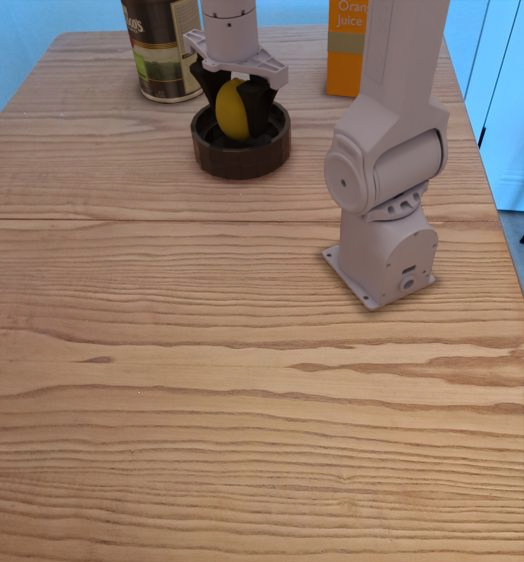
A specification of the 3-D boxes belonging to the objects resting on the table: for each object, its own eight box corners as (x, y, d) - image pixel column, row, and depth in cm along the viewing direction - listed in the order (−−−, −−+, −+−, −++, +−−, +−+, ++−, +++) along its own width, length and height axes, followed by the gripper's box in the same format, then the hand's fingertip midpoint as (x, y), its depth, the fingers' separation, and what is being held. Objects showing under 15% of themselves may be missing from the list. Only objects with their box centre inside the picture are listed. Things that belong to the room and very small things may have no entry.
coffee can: (153, 111, 81) (129, 3, 70) (132, 78, 87) (106, -26, 76) (220, 91, 83) (207, -17, 72) (195, 61, 89) (179, -44, 78)
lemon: (265, 128, 73) (261, 65, 67) (261, 153, 70) (256, 91, 64) (223, 128, 74) (215, 66, 68) (216, 153, 71) (207, 91, 64)
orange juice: (325, 94, 81) (329, -74, 65) (338, 63, 86) (346, -100, 70) (380, 100, 79) (399, -72, 63) (391, 68, 84) (410, -99, 68)
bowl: (308, 163, 72) (308, 130, 68) (220, 195, 69) (215, 163, 65) (263, 117, 78) (261, 85, 75) (181, 145, 76) (175, 113, 72)
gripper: (154, 3, 61) (177, 120, 72) (252, 40, 55) (261, 163, 66) (202, -20, 64) (217, 96, 75) (300, 13, 58) (301, 134, 68)
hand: (240, 125), depth 70 cm, fingers closed on lemon, 5 cm apart
